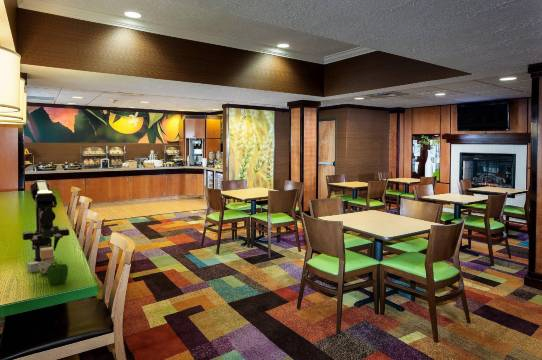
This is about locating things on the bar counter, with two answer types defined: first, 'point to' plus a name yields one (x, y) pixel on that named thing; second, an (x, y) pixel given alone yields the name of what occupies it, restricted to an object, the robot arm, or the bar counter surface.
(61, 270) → the bell pepper
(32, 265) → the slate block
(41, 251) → the terracotta block
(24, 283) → the bar counter surface
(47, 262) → the game die
